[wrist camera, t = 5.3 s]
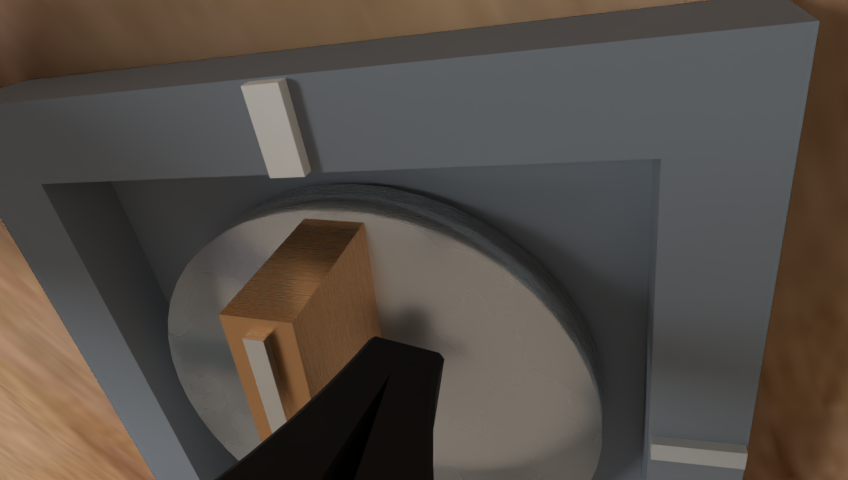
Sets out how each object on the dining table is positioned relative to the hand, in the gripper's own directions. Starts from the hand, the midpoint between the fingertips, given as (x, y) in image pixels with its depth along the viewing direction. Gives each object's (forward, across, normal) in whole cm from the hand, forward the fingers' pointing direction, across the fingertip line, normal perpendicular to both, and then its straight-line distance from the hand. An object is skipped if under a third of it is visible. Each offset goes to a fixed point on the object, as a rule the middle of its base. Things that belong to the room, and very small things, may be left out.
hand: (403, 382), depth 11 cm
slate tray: (+5, +1, +4) cm, 7 cm away
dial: (+5, +1, +4) cm, 7 cm away
